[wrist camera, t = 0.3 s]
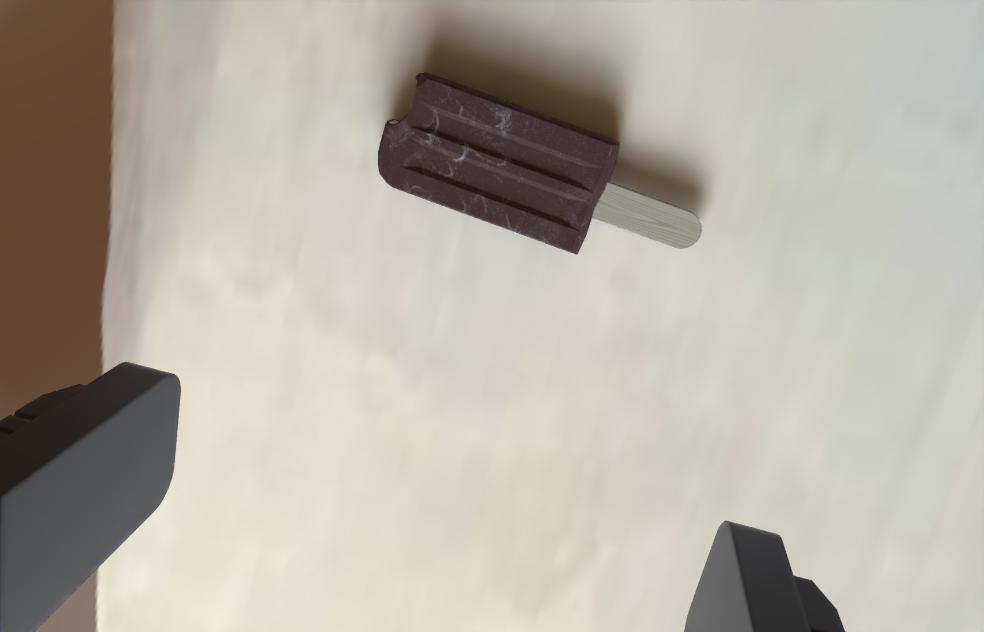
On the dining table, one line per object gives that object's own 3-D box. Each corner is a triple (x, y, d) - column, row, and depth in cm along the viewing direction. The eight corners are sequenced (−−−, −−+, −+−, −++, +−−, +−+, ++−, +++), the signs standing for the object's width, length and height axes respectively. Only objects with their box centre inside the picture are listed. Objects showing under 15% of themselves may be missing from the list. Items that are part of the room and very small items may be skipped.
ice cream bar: (721, 177, 37) (409, 65, 38) (725, 183, 36) (400, 66, 36) (675, 283, 39) (377, 175, 40) (677, 293, 38) (368, 180, 38)
